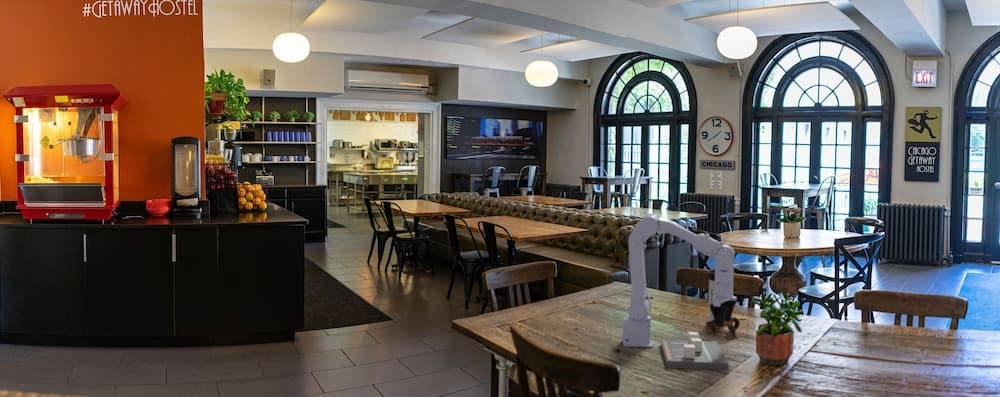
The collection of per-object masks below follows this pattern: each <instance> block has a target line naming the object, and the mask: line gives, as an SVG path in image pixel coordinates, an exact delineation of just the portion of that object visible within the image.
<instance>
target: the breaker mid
mask: <svg viewBox="0 0 1000 397" xmlns="http://www.w3.org/2000/svg"><path fill="white" fill-rule="evenodd" d="M702 341H703V340H702V339H701V338H700V337H699V338H691V345H694V346H695V351H696V352H702Z"/></svg>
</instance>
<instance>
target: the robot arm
mask: <svg viewBox="0 0 1000 397" xmlns="http://www.w3.org/2000/svg"><path fill="white" fill-rule="evenodd" d="M657 232H658V234H659V235H664V234H671V235H672V236H675V237H677V238H679V239H681V240H684V241H685V242H688V243H690V244H691V246H692V249H693V250H695V251H697V252H699V253H701V254H704V255H705V256H708V257H709V258H711V259H714V260H715V267H714V269H715V294H714V301H713V304H712V303H711V304H710V309H711V311H712V313H713V316H714V321H715V325H716V326H717V327H716V326H715V327H716V328H723V326H724V325H723V324H724V321H727V322H730V320H731V318H732V315H733V311H734V308H735V306H736V304H737V302H738V298H737V296H734V274H735V273H734V272H735V269H734V265H735V263H734V260H735V250H734V248H733V247H732V246H731V245H730V244H728V243H724V241H721V240H720V241H718V240H717V239H714V238H712V237H711V236H710V234H709V233H705V234H704V233H698V234H696V233H694V232H693V231H691V230H688V229H687V228H685V227H683V226H681V225H679V224H677V223H676V222H674V221H672V220H671V219H668V218H666V217H663V216H659V215H658V214H656V213H650V214H647V215H646V216H645V217H643V218H641V219H640V220H639V221H638V222H637V223H636V224H635V225H634V228H633V230H632V231H631V232H630V235H629V236H628V254H629V256H628V257H629V269H630V273H629V274H630V285H631V293H630V304H629V306H628V314H629V315H628V316H627V317H623V318H622V320H623V321H622V333H621V340H622V345H623V347H634V348H635V347H637V348H638V347H639V348H653V344H652V343H653V342H652V339H651V326H652V324H651V323H652V320H651V319H652V316H650V313H649V312H650V311H651V309H652V302H651V301H652V300H650V298H649V292H648V290H647V289H648V288H647V279H646V265H645V263H646V262H645V261H646V260H645V246H644V243H645V242H646V241H647V240H648V239H649V238H650V237H652V236H654V235H655V234H656V233H657Z"/></svg>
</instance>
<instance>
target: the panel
mask: <svg viewBox="0 0 1000 397" xmlns="http://www.w3.org/2000/svg"><path fill="white" fill-rule="evenodd" d="M684 344H689V343H688V340H683V339H682V340H681V339H680V340H679V339H660V347H661V350H662V354H663V357H664V361H665V365H666V367H667V368H677V369H679V368H680V369H696V370H697V369H699V370H701V369H702V370H724V371H726V370H727V371H728V370H729V362H728V360H727V359H726V357H725V355H724V353H723V350H722V348H720V346H719V343H718V342H717V341H714V340H713V341H708V340H702V352H696V351H695V358H685V357H684Z"/></svg>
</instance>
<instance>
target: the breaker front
mask: <svg viewBox="0 0 1000 397" xmlns="http://www.w3.org/2000/svg"><path fill="white" fill-rule="evenodd" d="M684 357H685V358H695V346H694V345H689V344H684Z"/></svg>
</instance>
